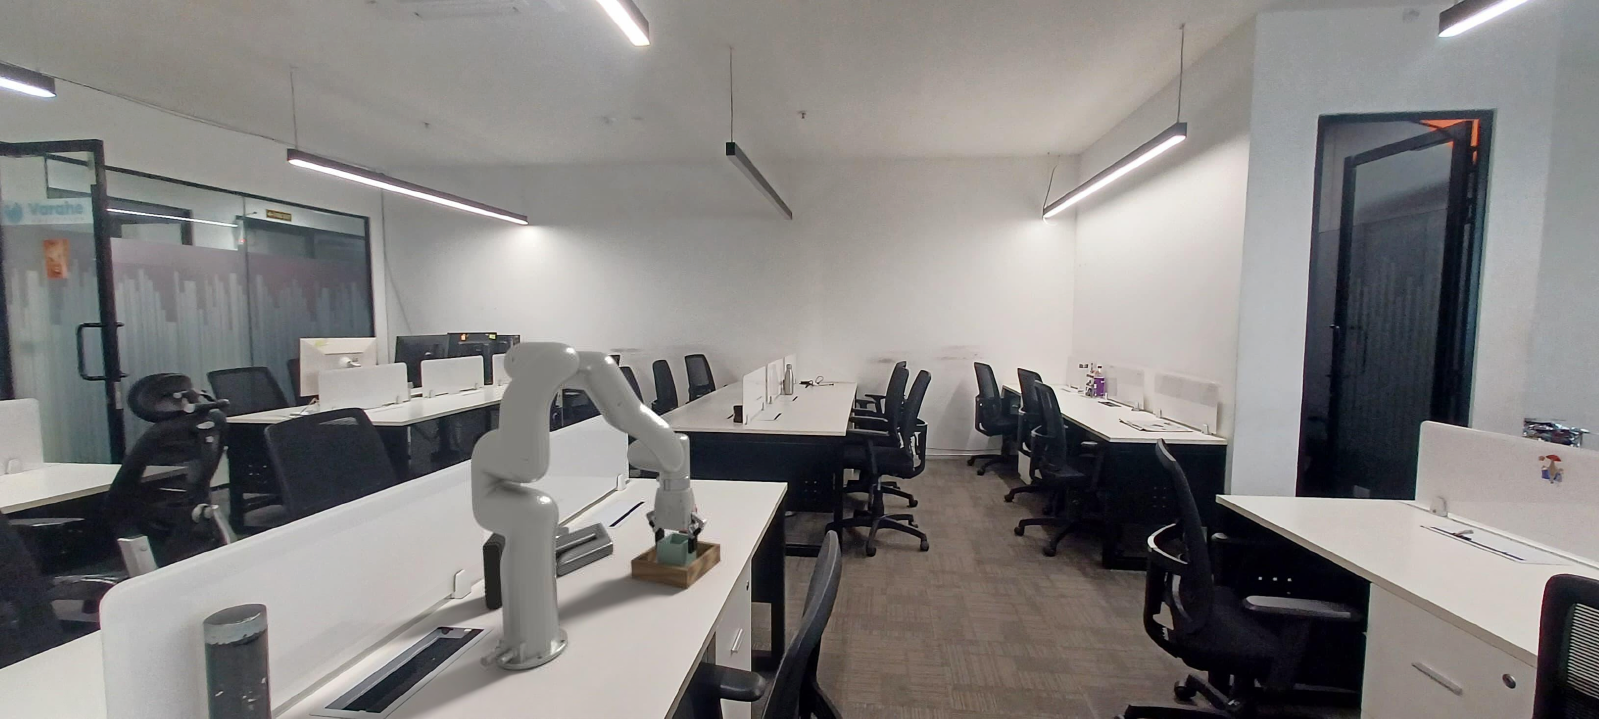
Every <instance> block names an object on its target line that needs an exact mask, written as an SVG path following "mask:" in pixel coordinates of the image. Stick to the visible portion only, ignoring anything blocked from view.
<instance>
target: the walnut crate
mask: <svg viewBox="0 0 1599 719" xmlns="http://www.w3.org/2000/svg"><path fill="white" fill-rule="evenodd" d="M720 562H721V543H715V542H709V541H704V540H703V541H701V540H698V547H697V550H696V560H695V561H694V562H693V563H691V564H690V565H689V566H687V567H686V568H683V567H677V566H672V565H666V564H660V563H657V548H655V544H654V545H652V546H651V547H650V548H649V549H646V550H645V551H644V552H642V553H640V554H639V555H637V556H636V557H634V558H633V559H631V560H630V565H631V566H630V567H631V568H630V569H631V579H635V580H638V581H639V580H641V581H646V582H651V583H656V584H660V583H661V585H665V584H666V585H667V586H670V585H671V587H675V586H676V588H682V589H687V590H688V589H689V588H690V587H691V586H692V585H694V584H695V583H696V582H697V581H699V580H700V579H701V578H703V576H704V575H706V574H707V573H708V572H709V571H710V570H712V569H713V568H714V567H715V566H716V565H718V564H719V563H720Z"/></svg>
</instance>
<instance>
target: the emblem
mask: <svg viewBox="0 0 1599 719" xmlns="http://www.w3.org/2000/svg"><path fill="white" fill-rule="evenodd" d="M555 553H556V575H559V576H564V575H566V574H568V573H571V572H572V571H575V570H576V569H579V568H582V567H584V566H585V565H588V564H590V563H592V562H595V561H597V560H599V559H601V558H603V557H606V556H608V555H610V554H613V553H614V542H613V540H612V539H611V537H610V535H609V534H608V532H607V530H606V529H605V527H604V525H603V524H602V522H598V523H597V522H596V523H594V524H592V525H589V526H585V527H583V528H580V529H578V530H575V531H572V532H570V527H568V526H560V527H558V528H557V534H556V548H555Z"/></svg>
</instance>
